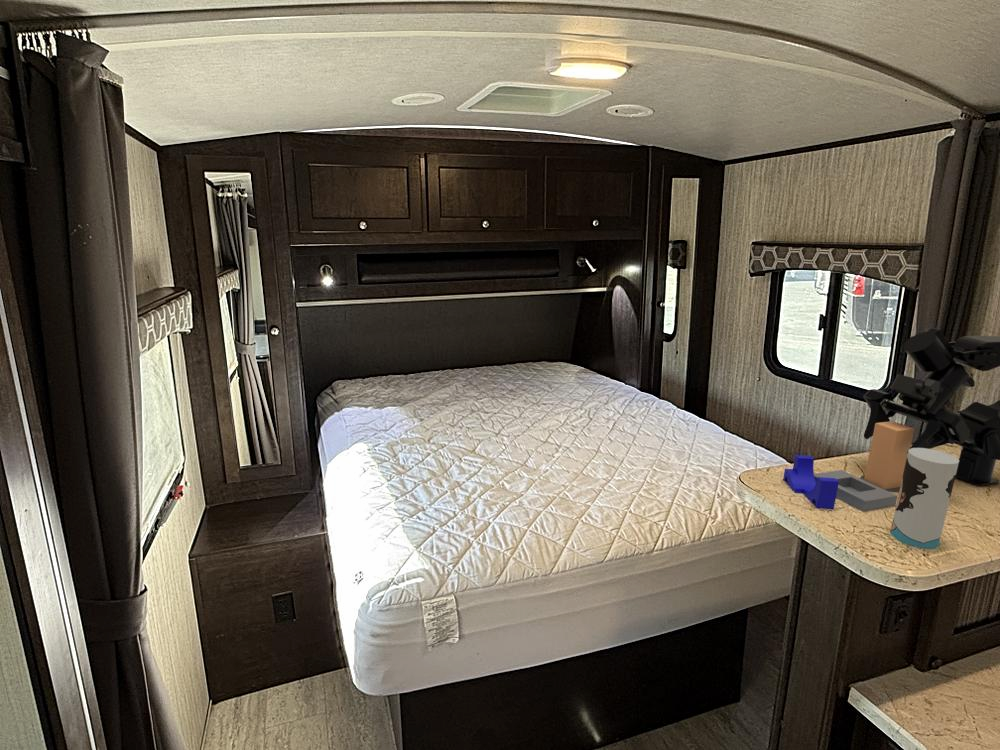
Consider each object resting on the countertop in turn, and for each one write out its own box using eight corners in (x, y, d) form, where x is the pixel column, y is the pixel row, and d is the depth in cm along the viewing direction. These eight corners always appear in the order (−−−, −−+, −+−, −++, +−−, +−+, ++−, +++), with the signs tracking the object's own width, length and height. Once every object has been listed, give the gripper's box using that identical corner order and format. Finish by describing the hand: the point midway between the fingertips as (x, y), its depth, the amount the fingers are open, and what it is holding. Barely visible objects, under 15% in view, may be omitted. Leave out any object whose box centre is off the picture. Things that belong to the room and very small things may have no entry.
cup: (936, 537, 102) (956, 453, 98) (940, 555, 96) (962, 467, 92) (889, 526, 105) (906, 444, 101) (890, 543, 100) (909, 457, 96)
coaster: (878, 475, 127) (879, 472, 127) (916, 491, 119) (916, 488, 119) (850, 479, 124) (850, 476, 124) (886, 496, 117) (887, 493, 117)
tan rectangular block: (880, 477, 124) (892, 421, 121) (901, 486, 120) (914, 428, 117) (864, 479, 123) (875, 423, 120) (885, 489, 119) (897, 430, 116)
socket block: (839, 481, 123) (841, 469, 122) (894, 508, 112) (897, 495, 111) (808, 486, 120) (811, 474, 120) (862, 514, 109) (865, 501, 109)
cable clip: (782, 482, 122) (787, 454, 120) (805, 484, 122) (810, 455, 120) (807, 510, 110) (812, 480, 109) (833, 512, 110) (838, 481, 108)
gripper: (879, 350, 125) (829, 406, 124) (974, 373, 108) (917, 437, 107) (898, 385, 130) (850, 438, 129) (993, 412, 113) (938, 474, 112)
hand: (886, 445), depth 119 cm, fingers open, 9 cm apart
